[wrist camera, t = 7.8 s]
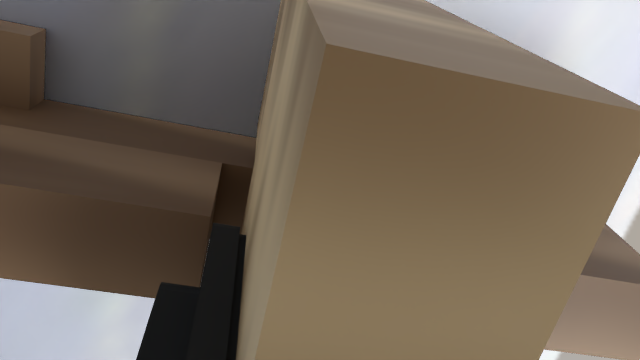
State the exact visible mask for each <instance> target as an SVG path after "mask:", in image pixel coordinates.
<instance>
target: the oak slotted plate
mask: <svg viewBox="0 0 640 360" xmlns="http://www.w3.org/2000/svg"><path fill="white" fill-rule="evenodd" d="M639 155H640V106H639V105H637V104H635V103H633V102H631V101H629V100H627V99H625V98H623V97H621V96H619V95H617V94H615V93H613V92H611V91H609V90H607V89H605V88H603V87H601V86H599V85H597V84H594V83H592V82H590V81H588V80H586V79H584V78H582V77H580V76H578V75H576V74H574V73H572V72H570V71H568V70H566V69H564V68H562V67H560V66H558V65H556V64H554V63H552V62H550V61H548V60H545V59H543V58H541V57H539V56H537V55H535V54H533V53H531V52H529V51H527V50H525V49H523V48H521V47H519V46H517V45H515V44H513V43H511V42H509V41H507V40H505V39H503V38H501V37H499V36H496V35H494V34H492V33H490V32H488V31H486V30H484V29H482V28H480V27H478V26H476V25H474V24H472V23H470V22H468V21H466V20H464V19H462V18H460V17H458V16H456V15H454V14H452V13H449V12H447V11H445V10H443V9H441V8H439V7H437V6H435V5H433V4H431V3H429V2H427V1H425V0H281V2H280V8H279V13H278V18H277V24H276V29H275V34H274V40H273V45H272V50H271V55H270V61H269V66H268V71H267V77H266V82H265V87H264V93H263V98H262V103H261V109H260V114H259V119H258V125H257V137H256V151H255V161H254V167H253V172H252V177H251V182H250V188H249V193H248V198H247V203H246V208H245V214H244V219H243V224H242V229H241V234H243V235H246V245H245V256H244V268H243V280H242V292H241V303H240V315H239V327H238V339H237V350H236V360H539V358H540V356H541V354H542V352H543V350H544V348H545V346H546V344H547V342H548V340H549V338H550V336H551V334H552V332H553V329H554V327H555V325H556V323H557V321H558V319H559V317H560V315H561V313H562V311H563V309H564V307H565V305H566V303H567V301H568V299H569V297H570V295H571V293H572V291H573V289H574V287H575V285H576V283H577V281H578V279H579V277H580V275H581V273H582V271H583V268H584V266H585V264H586V262H587V260H588V258H589V256H590V254H591V252H592V250H593V248H594V246H595V244H596V242H597V240H598V238H599V236H600V234H601V232H602V230H603V228H604V226H605V224H606V222H607V220H608V218H609V216H610V214H611V212H612V210H613V207H614V205H615V203H616V201H617V199H618V197H619V195H620V193H621V191H622V189H623V187H624V185H625V183H626V181H627V179H628V177H629V175H630V173H631V171H632V169H633V167H634V165H635V163H636V161H637V159H638V157H639Z"/></svg>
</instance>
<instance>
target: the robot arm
mask: <svg viewBox="0 0 640 360" xmlns="http://www.w3.org/2000/svg"><path fill="white" fill-rule="evenodd" d="M245 245H246V235H243V234H240V227H238V226H232V225H225V224H219V223H213V226H212V231H211V236H210V241H209V246H208V251H207V256H206V261H205V266H204V271H203V276H202V281H201V286H200V287H194V286H187V285H179V284H172V283H165V282H161V283H160V286H159V289H158V292H157V295H156V298H155V301H154V305H153V308H152V311H151V314H150V317H149V320H148V324H147V327H146V330H145V333H144V336H143V340H142V343H141V346H140V349H139V352H138V355H137V359H136V360H236V350H237V339H238V327H239V315H240V303H241V292H242V280H243V268H244V256H245Z"/></svg>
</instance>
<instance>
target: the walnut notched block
mask: <svg viewBox="0 0 640 360" xmlns="http://www.w3.org/2000/svg"><path fill="white" fill-rule="evenodd" d="M45 42H46V29H43V28H38V27H33V26H28V25H23V24H19V23H14V22H9V21H4V20H0V278H4V279H12V280H19V281H27V282H35V283H42V284H50V285H58V286H65V287H73V288H80V289H88V290H96V291H103V292H111V293H119V294H126V295H134V296H141V297H149V298H156V295H157V292H158V289H159V286H160V283H161V282H165V283H172V284H179V285H187V286H194V287H200V284H201V279H202V274H203V269H204V264H205V259H206V254H207V249H208V244H209V239H210V236H211V231H212V226H213V223H219V224H225V225H232V226H238V227H240V234H241V229H242V224H243V219H244V214H245V208H246V203H247V198H248V193H249V188H250V182H251V177H252V172H253V167H254V161H255V151H256V138H254V137H248V136H243V135H237V134H232V133H226V132H221V131H215V130H210V129H204V128H199V127H194V126H188V125H183V124H177V123H172V122H166V121H161V120H155V119H150V118H144V117H139V116H133V115H128V114H122V113H117V112H111V111H106V110H100V109H95V108H89V107H84V106H79V105H73V104H68V103H62V102H57V101H51V100H46V99H44V83H45ZM544 349H545V350H553V351H560V352H568V353H576V354H584V355H591V356H599V357H607V358H615V359H621V360H639V359H640V254H639V253H637V252H636V251H635V250H634V249H633V248H632V247H631V246H630V245H629V244H627V243H626V242H625V241H624V240H623V239H622V238H621V237H620V236H619V235H617V234H616V233H615V232H614V231H613V230H612V229H611V228H610V227H609V226H607V225H606V224H605V226H604V228H603V230H602V232H601V234H600V236H599V238H598V240H597V242H596V244H595V246H594V248H593V250H592V252H591V254H590V256H589V258H588V260H587V262H586V264H585V266H584V268H583V271H582V273H581V275H580V277H579V279H578V281H577V283H576V285H575V287H574V289H573V291H572V293H571V295H570V297H569V299H568V301H567V303H566V305H565V307H564V309H563V311H562V313H561V315H560V317H559V319H558V321H557V323H556V325H555V327H554V329H553V332H552V334H551V336H550V338H549V340H548V342H547V344H546V346H545V348H544Z"/></svg>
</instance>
